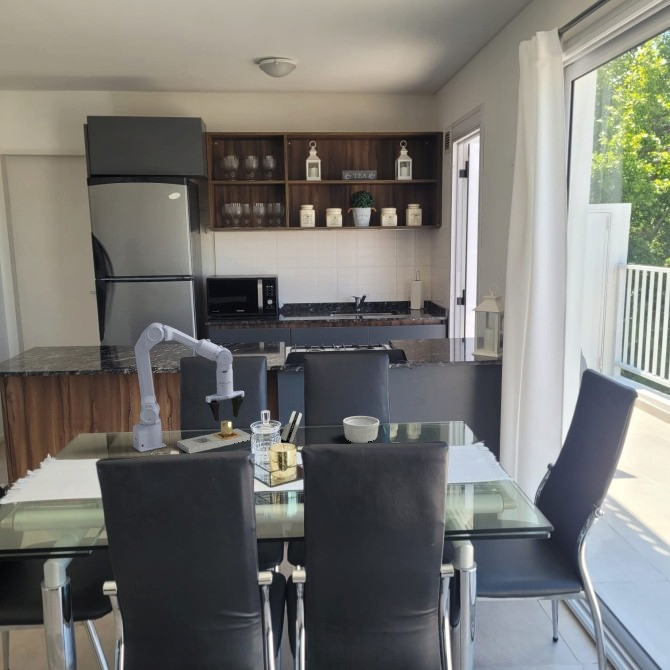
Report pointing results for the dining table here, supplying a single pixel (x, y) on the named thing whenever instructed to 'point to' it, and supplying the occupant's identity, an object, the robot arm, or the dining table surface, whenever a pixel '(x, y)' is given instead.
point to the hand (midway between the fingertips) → (226, 418)
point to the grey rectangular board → (212, 441)
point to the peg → (226, 429)
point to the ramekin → (361, 428)
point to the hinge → (289, 429)
